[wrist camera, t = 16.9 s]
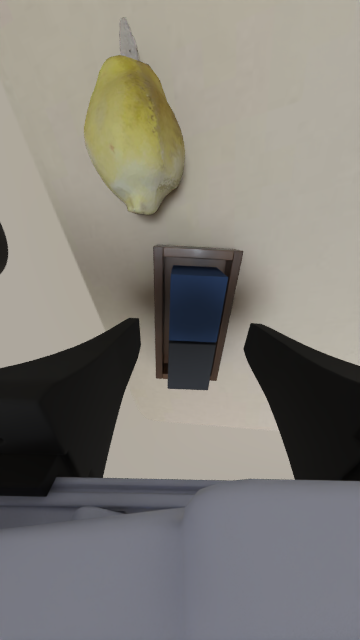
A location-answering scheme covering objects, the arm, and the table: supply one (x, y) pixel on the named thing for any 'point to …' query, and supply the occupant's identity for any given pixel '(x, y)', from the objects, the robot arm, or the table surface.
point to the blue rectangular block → (196, 303)
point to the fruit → (133, 131)
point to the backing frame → (163, 265)
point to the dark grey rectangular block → (190, 364)
